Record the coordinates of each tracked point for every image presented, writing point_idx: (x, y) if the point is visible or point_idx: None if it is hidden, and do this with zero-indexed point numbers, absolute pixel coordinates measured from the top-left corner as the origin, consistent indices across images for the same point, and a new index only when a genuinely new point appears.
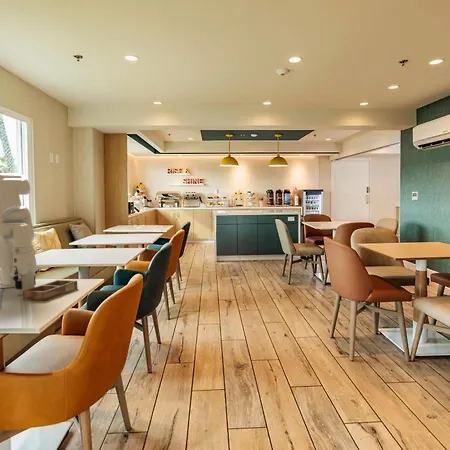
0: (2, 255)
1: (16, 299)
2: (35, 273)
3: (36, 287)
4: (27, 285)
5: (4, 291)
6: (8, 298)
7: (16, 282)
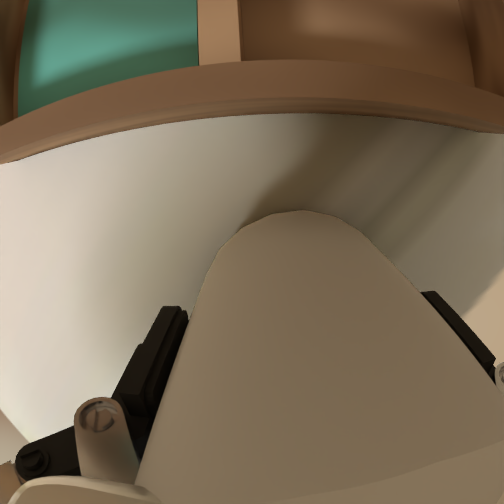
0: None
1: (475, 212)
2: (69, 448)
3: (381, 68)
4: (392, 265)
5: None
6: None
7: None
